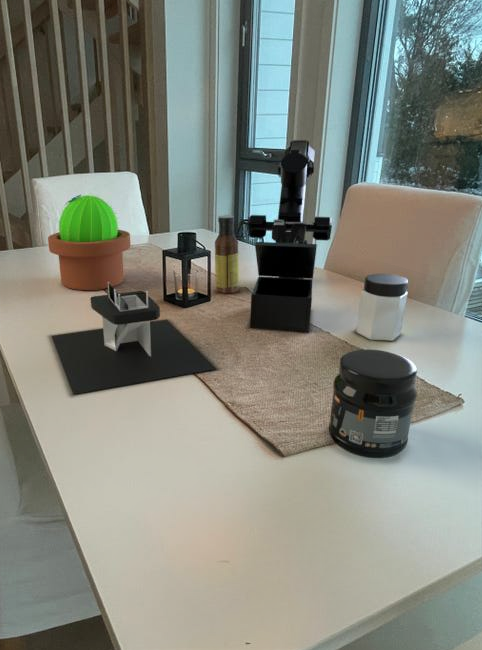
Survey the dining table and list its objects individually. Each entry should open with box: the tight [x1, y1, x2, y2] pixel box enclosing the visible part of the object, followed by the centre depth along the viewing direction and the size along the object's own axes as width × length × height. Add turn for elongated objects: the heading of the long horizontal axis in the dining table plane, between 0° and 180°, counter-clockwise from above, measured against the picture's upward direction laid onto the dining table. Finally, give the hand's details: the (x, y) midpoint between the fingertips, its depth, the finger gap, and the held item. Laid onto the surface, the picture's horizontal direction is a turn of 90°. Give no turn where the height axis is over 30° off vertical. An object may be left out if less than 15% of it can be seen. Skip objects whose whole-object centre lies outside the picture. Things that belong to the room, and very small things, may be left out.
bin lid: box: [254, 241, 318, 280], centre depth 113 cm, size 15×13×1 cm
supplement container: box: [328, 348, 418, 459], centre depth 70 cm, size 10×10×12 cm
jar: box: [355, 273, 409, 342], centre depth 106 cm, size 9×8×12 cm
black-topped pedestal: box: [51, 282, 217, 395], centre depth 99 cm, size 28×26×13 cm
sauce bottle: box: [214, 214, 240, 294], centre depth 134 cm, size 6×6×20 cm
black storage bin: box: [249, 275, 314, 334], centre depth 116 cm, size 15×13×8 cm
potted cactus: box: [47, 193, 131, 291], centre depth 143 cm, size 22×22×25 cm
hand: (285, 258), depth 115 cm, fingers closed
